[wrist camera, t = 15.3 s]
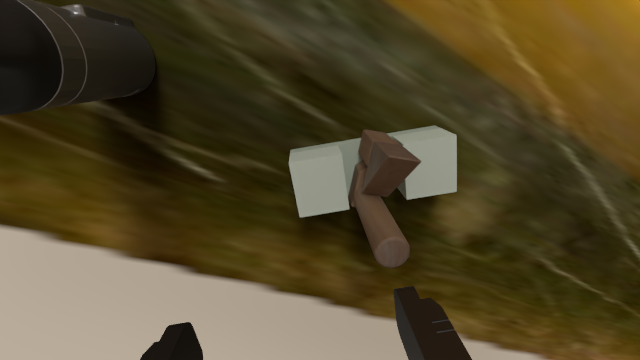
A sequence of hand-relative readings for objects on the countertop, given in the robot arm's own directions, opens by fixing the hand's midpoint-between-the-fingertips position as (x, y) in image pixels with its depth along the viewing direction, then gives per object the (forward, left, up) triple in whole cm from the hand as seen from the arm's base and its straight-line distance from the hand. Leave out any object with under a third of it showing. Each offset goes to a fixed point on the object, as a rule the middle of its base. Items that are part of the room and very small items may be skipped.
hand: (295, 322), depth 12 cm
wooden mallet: (+6, +9, -34) cm, 36 cm away
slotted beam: (+6, +9, -36) cm, 38 cm away
